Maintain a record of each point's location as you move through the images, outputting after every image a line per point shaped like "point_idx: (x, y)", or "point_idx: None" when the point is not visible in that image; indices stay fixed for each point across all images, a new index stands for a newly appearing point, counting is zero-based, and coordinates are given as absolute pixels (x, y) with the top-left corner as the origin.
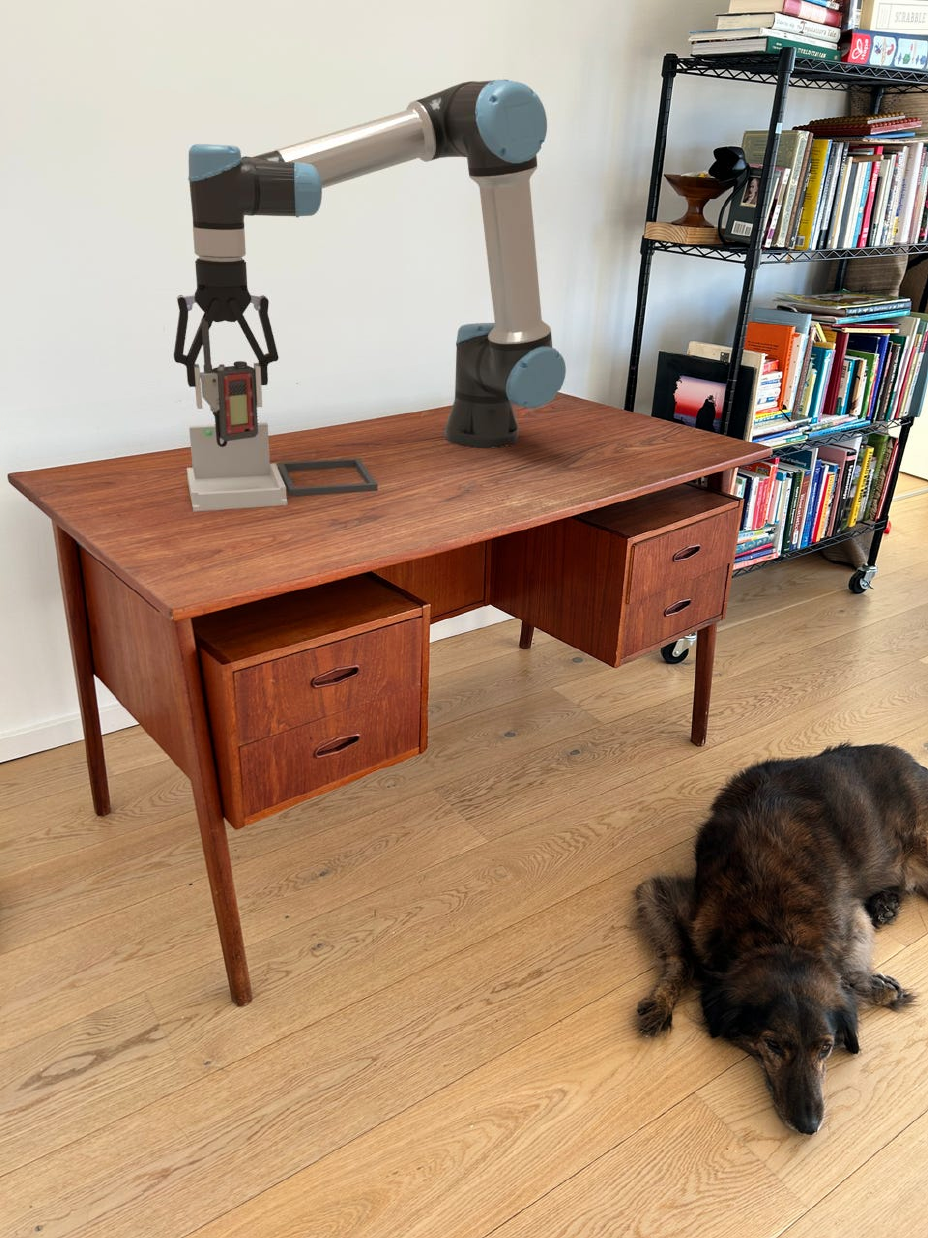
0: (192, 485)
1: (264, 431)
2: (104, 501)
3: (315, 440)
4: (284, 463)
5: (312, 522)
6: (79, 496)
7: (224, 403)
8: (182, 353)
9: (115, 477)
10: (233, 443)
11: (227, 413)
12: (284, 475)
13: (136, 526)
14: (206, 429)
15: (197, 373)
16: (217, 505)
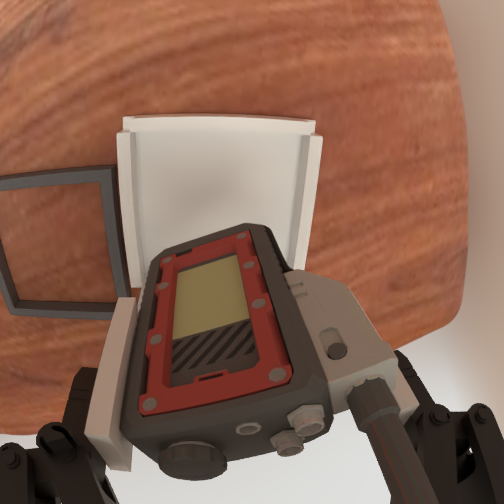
0: (312, 181)
1: None
2: (419, 214)
3: None
4: None
5: (96, 28)
6: (437, 241)
7: (269, 284)
8: (480, 439)
9: (380, 307)
10: None
11: (252, 265)
12: (117, 254)
13: (403, 89)
14: None
15: (399, 386)
16: (268, 116)
